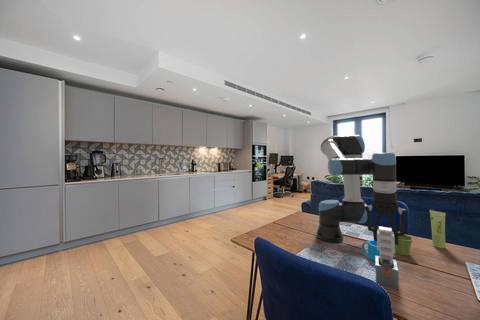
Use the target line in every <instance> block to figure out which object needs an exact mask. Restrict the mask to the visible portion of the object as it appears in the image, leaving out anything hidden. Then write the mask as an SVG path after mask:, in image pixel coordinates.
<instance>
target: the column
mask: <svg viewBox="0 0 480 320" xmlns="http://www.w3.org/2000/svg"><path fill="white" fill-rule="evenodd" d="M378 232H379V246H380V251H379V252H380V265H383V262H388V263H390V264H391V268H393V260H394V259H393V258H394V257H393V256H394V255H393V249H392V233H393V229H392V227H386V226H380V225H379V226H378Z"/></svg>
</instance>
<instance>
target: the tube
mask: <svg viewBox="0 0 480 320" xmlns="http://www.w3.org/2000/svg"><path fill="white" fill-rule="evenodd" d="M446 215H447V214H446V212H442V211H436V210H433V209H429V217H430V227H431V236H432V237H431V239H432V240H431V241H432V246H433V247H435V248H438V249H445V248H446Z"/></svg>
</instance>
